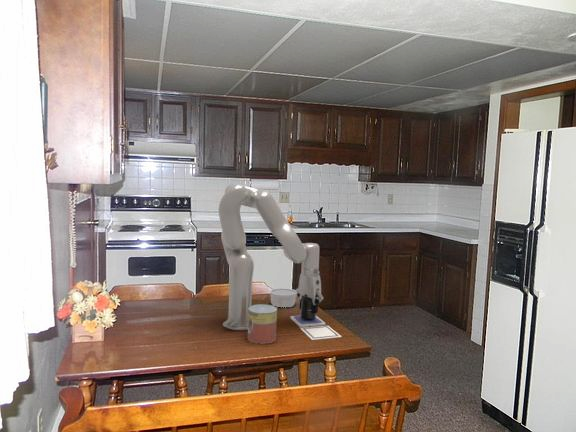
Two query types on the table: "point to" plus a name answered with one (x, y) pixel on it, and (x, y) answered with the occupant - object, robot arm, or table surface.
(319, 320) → the ink pad
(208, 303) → the table surface
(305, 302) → the supplement bottle
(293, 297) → the ramekin
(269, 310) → the canned food
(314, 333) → the marked card
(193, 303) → the table surface
